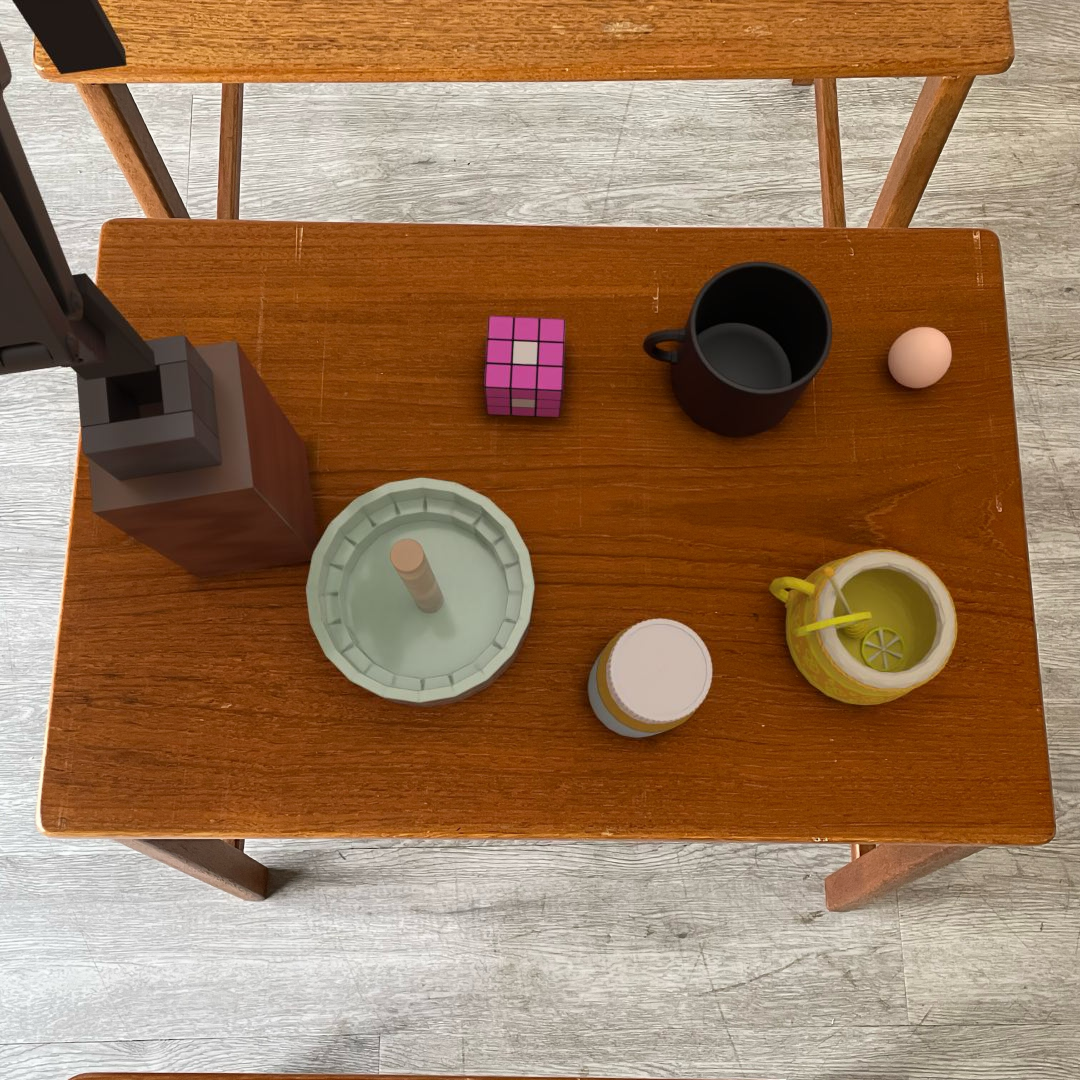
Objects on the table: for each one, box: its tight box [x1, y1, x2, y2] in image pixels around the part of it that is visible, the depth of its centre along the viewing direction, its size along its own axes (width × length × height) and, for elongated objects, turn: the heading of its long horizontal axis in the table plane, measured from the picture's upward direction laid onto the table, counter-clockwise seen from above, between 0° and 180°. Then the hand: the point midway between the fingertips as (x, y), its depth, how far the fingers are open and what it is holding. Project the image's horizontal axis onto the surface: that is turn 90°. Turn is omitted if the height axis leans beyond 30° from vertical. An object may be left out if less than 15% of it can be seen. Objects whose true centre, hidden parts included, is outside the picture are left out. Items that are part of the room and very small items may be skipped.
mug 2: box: [768, 548, 959, 706], centre depth 72 cm, size 13×11×12 cm
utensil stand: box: [75, 334, 319, 579], centre depth 66 cm, size 9×9×25 cm
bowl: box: [305, 477, 536, 708], centre depth 74 cm, size 16×16×6 cm
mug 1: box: [642, 261, 834, 437], centre depth 77 cm, size 10×13×10 cm
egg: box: [887, 326, 953, 389], centre depth 79 cm, size 4×4×6 cm
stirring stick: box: [390, 539, 443, 613], centre depth 69 cm, size 2×2×16 cm
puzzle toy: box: [483, 315, 566, 418], centre depth 79 cm, size 6×6×6 cm
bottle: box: [587, 617, 714, 739], centre depth 69 cm, size 7×7×15 cm
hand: (106, 209), depth 42 cm, fingers open, 13 cm apart
